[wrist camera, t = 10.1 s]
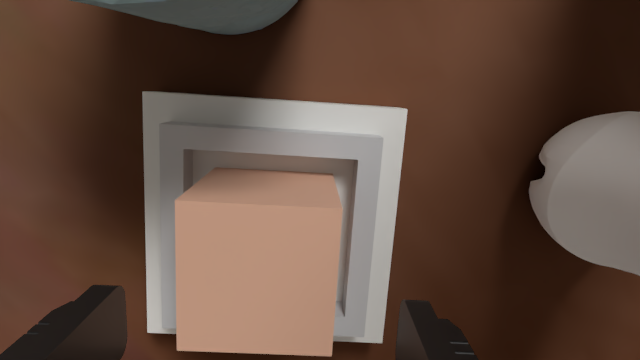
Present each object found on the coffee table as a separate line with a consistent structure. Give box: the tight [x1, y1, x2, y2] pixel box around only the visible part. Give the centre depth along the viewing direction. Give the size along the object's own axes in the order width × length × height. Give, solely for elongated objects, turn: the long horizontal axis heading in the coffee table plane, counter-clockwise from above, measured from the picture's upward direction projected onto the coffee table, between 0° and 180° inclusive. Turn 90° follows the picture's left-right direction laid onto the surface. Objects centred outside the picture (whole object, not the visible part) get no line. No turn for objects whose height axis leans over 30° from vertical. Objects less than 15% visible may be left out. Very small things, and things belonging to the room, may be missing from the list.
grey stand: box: [142, 91, 408, 343], centre depth 20 cm, size 12×12×4 cm
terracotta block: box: [175, 167, 343, 356], centre depth 17 cm, size 6×6×6 cm
